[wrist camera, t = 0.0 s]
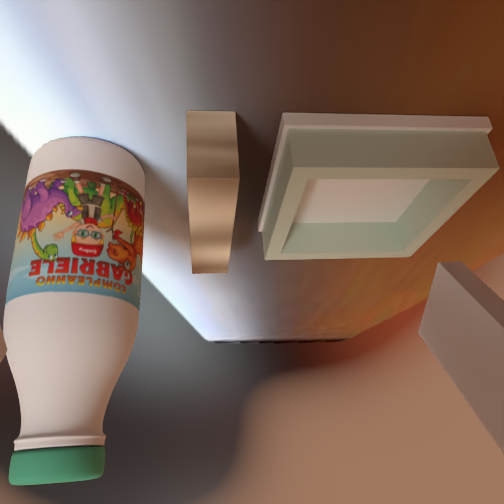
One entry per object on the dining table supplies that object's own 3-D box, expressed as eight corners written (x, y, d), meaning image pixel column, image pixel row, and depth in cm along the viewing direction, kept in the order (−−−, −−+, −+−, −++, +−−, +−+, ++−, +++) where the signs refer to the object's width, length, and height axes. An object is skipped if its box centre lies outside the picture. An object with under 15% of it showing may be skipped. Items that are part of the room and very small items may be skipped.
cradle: (282, 112, 27) (289, 164, 26) (488, 116, 29) (507, 165, 27) (257, 221, 40) (260, 261, 38) (402, 220, 42) (411, 258, 40)
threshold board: (186, 110, 27) (186, 178, 25) (235, 111, 27) (239, 178, 25) (191, 222, 39) (192, 273, 37) (224, 222, 40) (227, 272, 37)
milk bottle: (147, 199, 35) (136, 474, 27) (45, 195, 34) (-1, 485, 25) (144, 137, 29) (129, 478, 20) (17, 127, 27) (-59, 493, 18)
